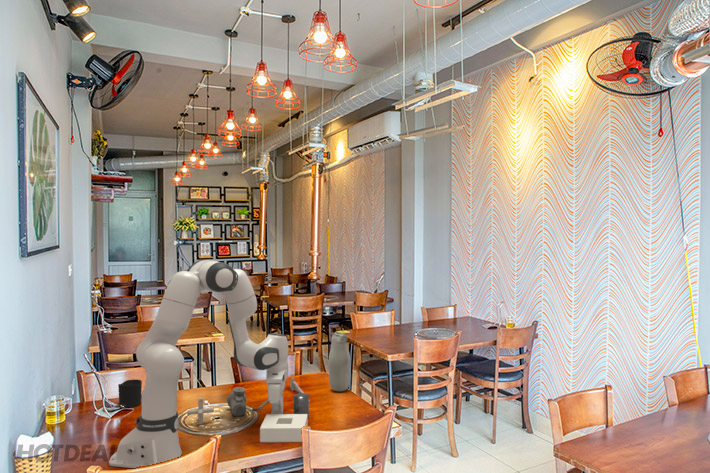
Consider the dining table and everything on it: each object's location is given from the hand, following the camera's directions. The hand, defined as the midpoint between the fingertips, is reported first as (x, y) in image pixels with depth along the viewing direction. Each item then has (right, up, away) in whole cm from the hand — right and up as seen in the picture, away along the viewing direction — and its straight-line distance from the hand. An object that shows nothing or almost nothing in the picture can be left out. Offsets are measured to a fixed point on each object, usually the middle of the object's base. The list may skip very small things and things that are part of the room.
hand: (277, 406), depth 197 cm
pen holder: (-68, -6, +17) cm, 71 cm away
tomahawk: (-7, -6, +20) cm, 22 cm away
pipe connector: (-30, -5, -4) cm, 31 cm away
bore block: (+5, -5, -15) cm, 17 cm away
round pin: (+9, -5, +2) cm, 11 cm away
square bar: (0, -5, 0) cm, 5 cm away
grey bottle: (+24, -5, +37) cm, 44 cm away
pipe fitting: (-18, -6, +8) cm, 20 cm away
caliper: (+6, -6, +30) cm, 31 cm away
